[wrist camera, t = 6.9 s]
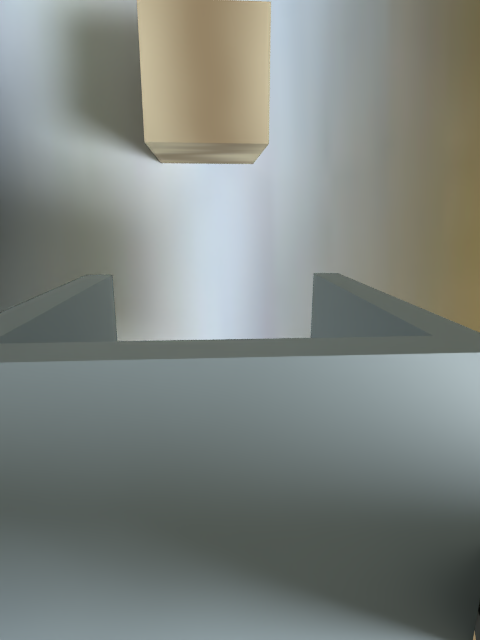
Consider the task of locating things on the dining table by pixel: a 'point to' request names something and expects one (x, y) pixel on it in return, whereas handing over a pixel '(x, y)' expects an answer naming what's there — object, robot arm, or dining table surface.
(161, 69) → the block
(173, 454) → the open box
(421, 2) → the dining table surface
